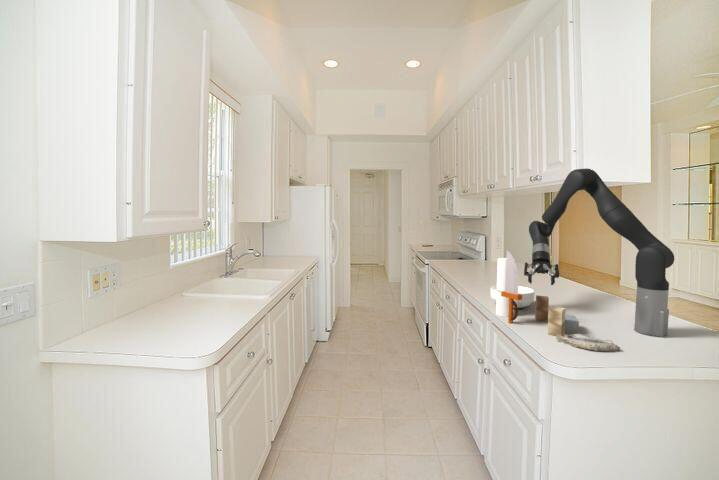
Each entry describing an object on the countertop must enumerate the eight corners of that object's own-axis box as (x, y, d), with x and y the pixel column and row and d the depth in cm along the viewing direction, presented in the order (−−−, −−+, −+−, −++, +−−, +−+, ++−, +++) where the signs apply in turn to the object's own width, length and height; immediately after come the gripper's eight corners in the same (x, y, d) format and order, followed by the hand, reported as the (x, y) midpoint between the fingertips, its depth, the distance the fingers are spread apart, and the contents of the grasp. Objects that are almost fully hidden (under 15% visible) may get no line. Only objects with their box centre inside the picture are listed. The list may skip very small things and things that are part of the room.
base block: (573, 327, 140) (574, 315, 140) (578, 334, 133) (578, 321, 133) (551, 325, 143) (551, 313, 143) (554, 331, 136) (555, 318, 135)
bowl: (543, 310, 165) (544, 292, 164) (506, 313, 160) (507, 294, 159) (515, 299, 184) (516, 284, 183) (482, 302, 179) (482, 285, 178)
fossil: (555, 345, 123) (555, 337, 122) (560, 336, 130) (560, 328, 130) (619, 359, 112) (619, 350, 111) (620, 348, 119) (621, 340, 119)
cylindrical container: (514, 317, 154) (516, 260, 151) (497, 316, 155) (499, 260, 153) (511, 312, 160) (512, 258, 158) (494, 311, 162) (496, 257, 160)
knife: (500, 320, 149) (502, 250, 147) (504, 319, 150) (506, 249, 148) (516, 325, 142) (519, 252, 139) (521, 325, 143) (523, 251, 141)
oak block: (564, 334, 132) (565, 308, 131) (560, 337, 129) (562, 310, 128) (551, 331, 135) (552, 306, 134) (547, 334, 132) (548, 308, 131)
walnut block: (546, 319, 150) (547, 296, 150) (547, 322, 146) (548, 298, 146) (535, 318, 152) (536, 295, 152) (535, 321, 148) (536, 297, 147)
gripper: (524, 249, 167) (524, 277, 157) (558, 250, 161) (560, 279, 152) (524, 259, 172) (523, 286, 163) (557, 260, 166) (558, 289, 157)
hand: (541, 283), depth 157 cm, fingers open, 8 cm apart
